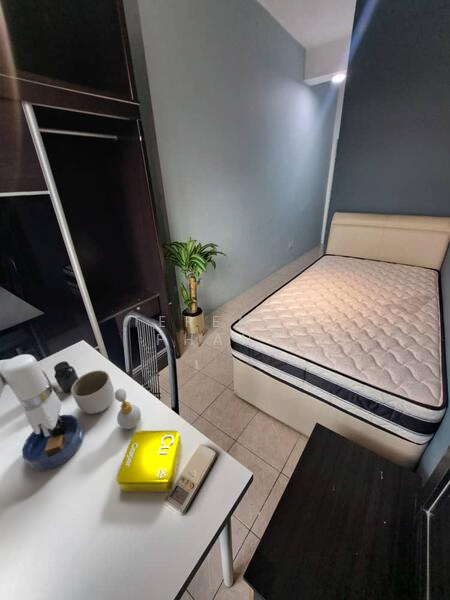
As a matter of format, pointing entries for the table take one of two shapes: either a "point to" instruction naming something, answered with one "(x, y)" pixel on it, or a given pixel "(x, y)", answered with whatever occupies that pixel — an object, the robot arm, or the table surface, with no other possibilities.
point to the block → (55, 445)
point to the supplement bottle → (65, 376)
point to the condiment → (53, 385)
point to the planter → (93, 392)
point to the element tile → (150, 462)
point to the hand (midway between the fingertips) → (60, 433)
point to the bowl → (38, 442)
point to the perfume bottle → (127, 411)
